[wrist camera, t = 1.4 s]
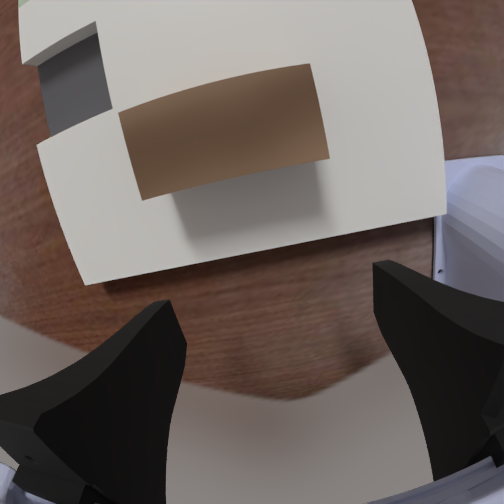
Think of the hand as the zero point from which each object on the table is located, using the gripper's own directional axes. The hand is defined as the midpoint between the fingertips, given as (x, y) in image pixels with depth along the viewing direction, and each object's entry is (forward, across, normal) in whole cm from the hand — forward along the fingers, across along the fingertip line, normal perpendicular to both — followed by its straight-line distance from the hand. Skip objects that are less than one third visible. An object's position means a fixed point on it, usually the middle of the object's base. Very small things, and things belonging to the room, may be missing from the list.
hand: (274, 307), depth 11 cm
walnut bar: (+8, +1, -6) cm, 10 cm away
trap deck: (+10, +1, -12) cm, 15 cm away
